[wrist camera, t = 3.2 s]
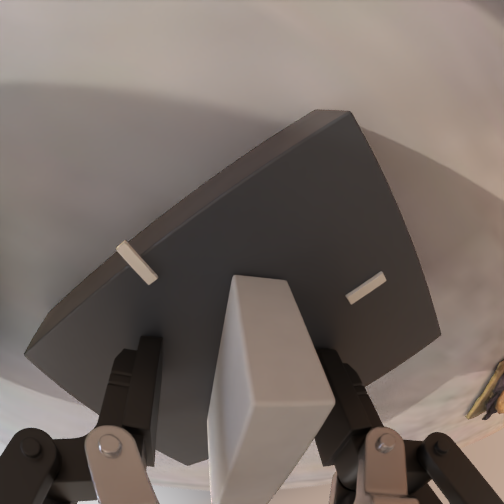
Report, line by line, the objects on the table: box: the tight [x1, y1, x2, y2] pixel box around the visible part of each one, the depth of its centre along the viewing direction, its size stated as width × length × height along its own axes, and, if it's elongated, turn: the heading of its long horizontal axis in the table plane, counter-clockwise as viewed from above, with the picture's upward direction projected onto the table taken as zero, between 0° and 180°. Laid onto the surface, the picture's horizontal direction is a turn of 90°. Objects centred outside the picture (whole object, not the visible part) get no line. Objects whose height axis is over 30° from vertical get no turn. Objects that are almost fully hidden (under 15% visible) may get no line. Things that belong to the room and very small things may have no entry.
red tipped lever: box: [207, 275, 335, 504], centre depth 8 cm, size 7×2×5 cm, turn 169°
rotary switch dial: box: [24, 110, 441, 466], centre depth 12 cm, size 14×11×3 cm
